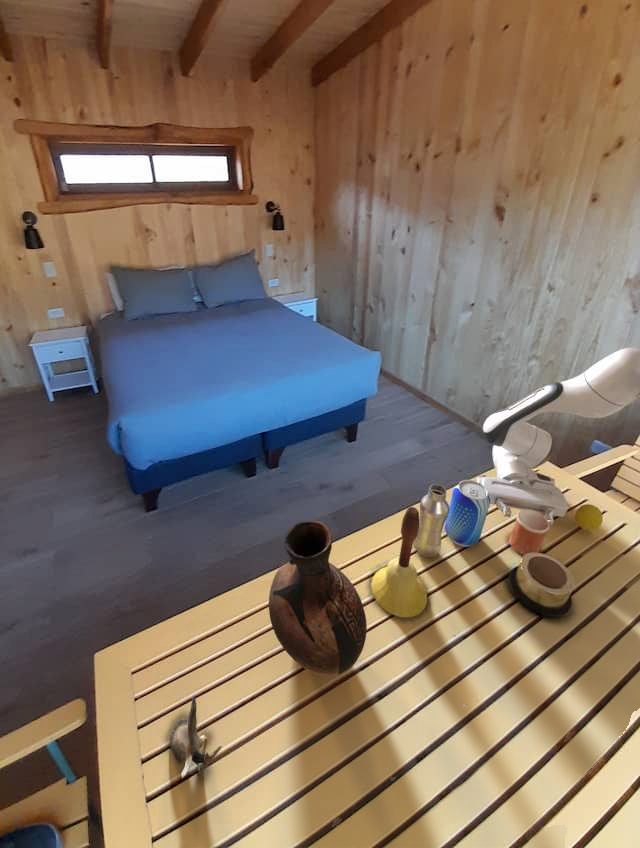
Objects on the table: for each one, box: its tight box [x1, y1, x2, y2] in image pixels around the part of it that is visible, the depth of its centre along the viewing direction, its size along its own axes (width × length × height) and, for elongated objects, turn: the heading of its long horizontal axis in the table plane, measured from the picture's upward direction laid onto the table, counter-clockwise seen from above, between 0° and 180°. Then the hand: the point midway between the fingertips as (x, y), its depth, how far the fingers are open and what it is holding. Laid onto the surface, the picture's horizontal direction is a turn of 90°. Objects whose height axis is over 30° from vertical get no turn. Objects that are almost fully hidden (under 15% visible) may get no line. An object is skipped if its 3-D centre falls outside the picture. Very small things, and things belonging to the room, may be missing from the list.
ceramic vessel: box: [268, 520, 368, 676], centre depth 75 cm, size 21×18×30 cm
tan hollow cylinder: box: [507, 552, 575, 620], centre depth 88 cm, size 12×12×8 cm
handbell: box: [370, 506, 428, 618], centre depth 85 cm, size 12×12×25 cm
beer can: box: [444, 479, 491, 547], centre depth 101 cm, size 8×8×16 cm
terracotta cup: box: [508, 509, 550, 556], centre depth 99 cm, size 7×7×9 cm
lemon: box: [574, 503, 604, 532], centre depth 103 cm, size 6×6×8 cm
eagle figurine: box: [169, 695, 222, 779], centre depth 66 cm, size 8×7×9 cm
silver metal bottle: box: [412, 483, 450, 558], centre depth 96 cm, size 6×7×20 cm
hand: (528, 518), depth 100 cm, fingers open, 8 cm apart
